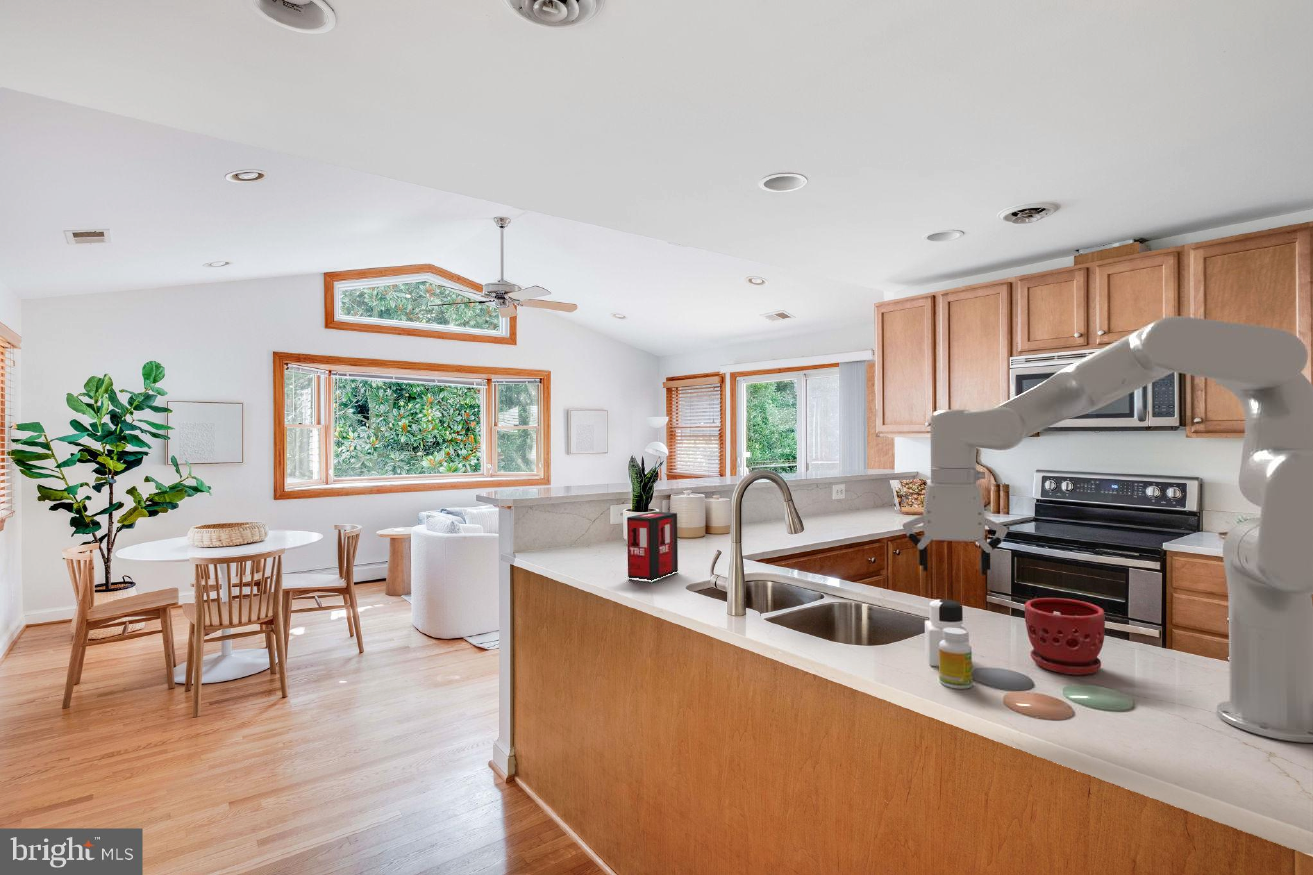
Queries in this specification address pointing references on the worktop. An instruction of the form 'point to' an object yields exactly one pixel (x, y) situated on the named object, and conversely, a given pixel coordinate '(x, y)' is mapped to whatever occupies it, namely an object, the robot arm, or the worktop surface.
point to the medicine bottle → (941, 626)
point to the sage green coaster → (1098, 697)
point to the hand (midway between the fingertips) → (953, 571)
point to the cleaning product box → (652, 545)
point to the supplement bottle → (955, 659)
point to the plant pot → (1065, 634)
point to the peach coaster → (1037, 705)
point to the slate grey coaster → (1002, 679)
